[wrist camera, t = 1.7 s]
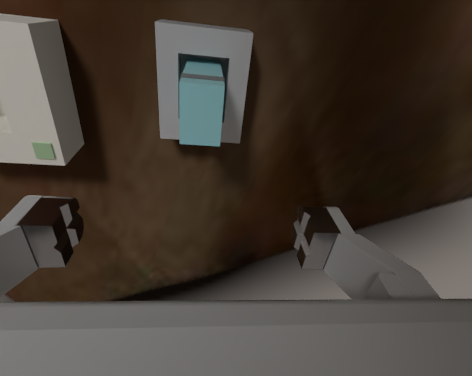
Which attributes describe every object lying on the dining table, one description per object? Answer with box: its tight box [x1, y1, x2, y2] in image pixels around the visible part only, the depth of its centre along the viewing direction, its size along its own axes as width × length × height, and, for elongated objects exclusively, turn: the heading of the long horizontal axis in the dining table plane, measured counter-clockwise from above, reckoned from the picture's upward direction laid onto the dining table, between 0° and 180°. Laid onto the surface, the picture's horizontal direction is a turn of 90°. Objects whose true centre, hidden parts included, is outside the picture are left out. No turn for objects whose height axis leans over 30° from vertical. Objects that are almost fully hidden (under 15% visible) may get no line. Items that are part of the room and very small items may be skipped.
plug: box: [179, 57, 225, 146], centre depth 24 cm, size 4×3×10 cm
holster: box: [155, 19, 254, 143], centre depth 27 cm, size 10×8×4 cm
